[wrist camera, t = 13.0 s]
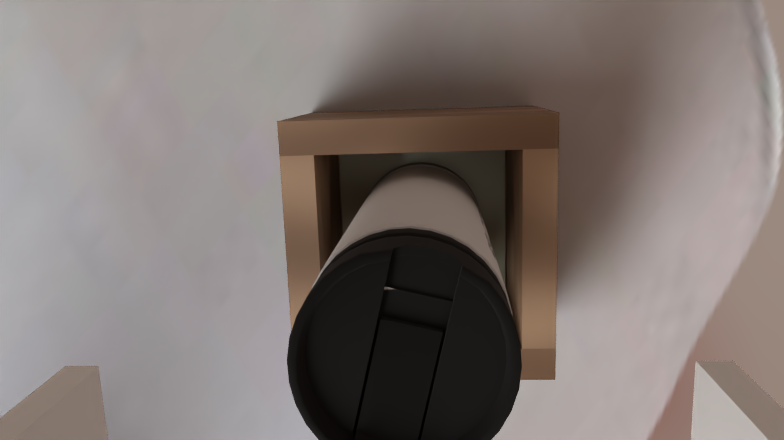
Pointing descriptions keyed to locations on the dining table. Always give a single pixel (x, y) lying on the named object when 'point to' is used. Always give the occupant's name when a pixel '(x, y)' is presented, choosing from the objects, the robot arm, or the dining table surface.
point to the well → (459, 154)
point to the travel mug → (408, 320)
